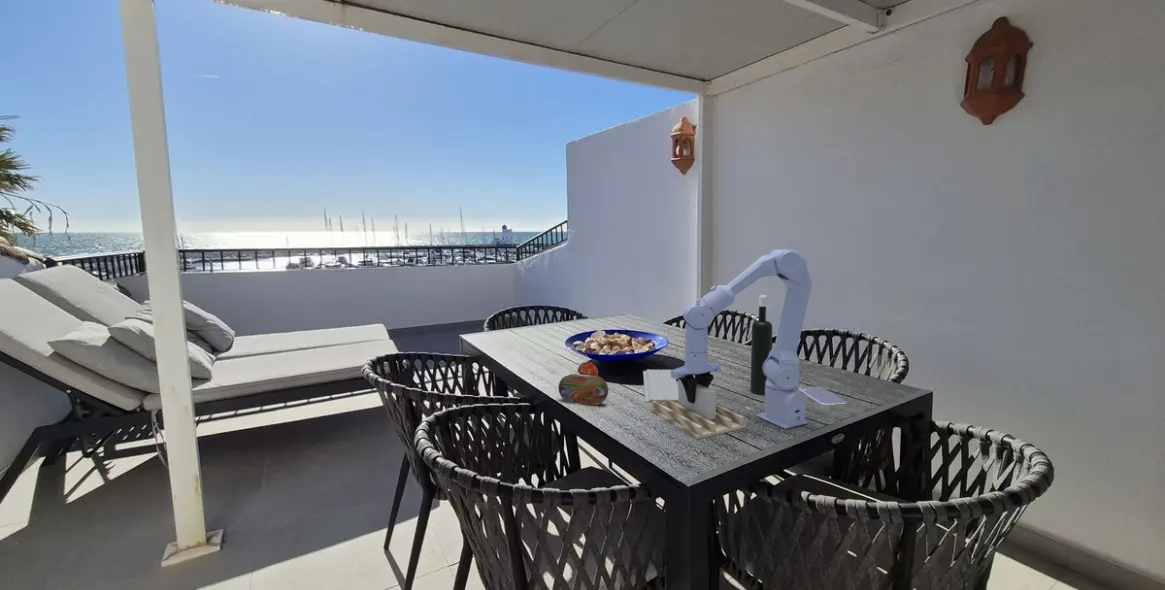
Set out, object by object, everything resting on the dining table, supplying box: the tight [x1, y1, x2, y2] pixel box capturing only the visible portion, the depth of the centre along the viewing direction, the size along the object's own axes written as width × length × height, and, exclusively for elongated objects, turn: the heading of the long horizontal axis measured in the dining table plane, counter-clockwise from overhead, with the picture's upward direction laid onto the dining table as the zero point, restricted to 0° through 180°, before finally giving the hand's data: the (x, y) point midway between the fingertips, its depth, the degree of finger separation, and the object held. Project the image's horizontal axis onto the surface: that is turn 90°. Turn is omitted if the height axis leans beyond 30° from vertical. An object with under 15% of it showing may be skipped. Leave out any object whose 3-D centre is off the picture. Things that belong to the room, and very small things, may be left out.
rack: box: [650, 399, 747, 440], centre depth 119 cm, size 20×15×3 cm
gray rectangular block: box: [677, 379, 717, 420], centre depth 118 cm, size 12×2×7 cm, turn 25°
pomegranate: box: [577, 361, 599, 377], centre depth 152 cm, size 7×7×10 cm
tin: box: [558, 373, 609, 407], centre depth 132 cm, size 15×3×8 cm, turn 68°
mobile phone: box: [797, 386, 848, 406], centre depth 134 cm, size 8×1×15 cm
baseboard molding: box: [642, 365, 678, 404], centre depth 147 cm, size 31×3×12 cm
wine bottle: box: [749, 294, 773, 396], centre depth 137 cm, size 6×6×30 cm
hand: (695, 401), depth 118 cm, fingers closed on gray rectangular block, 2 cm apart
